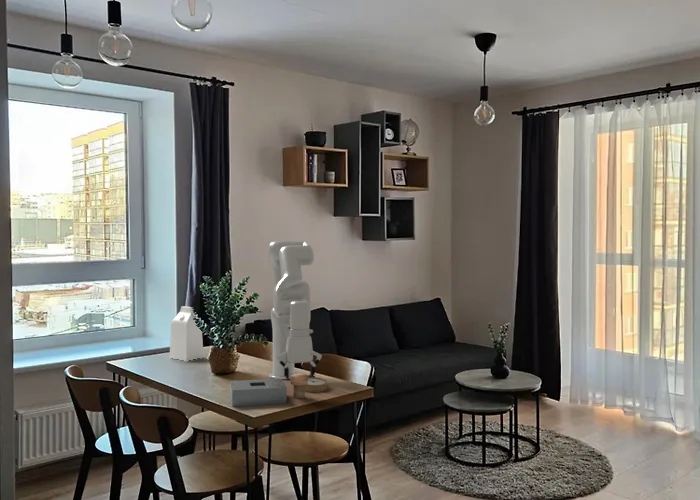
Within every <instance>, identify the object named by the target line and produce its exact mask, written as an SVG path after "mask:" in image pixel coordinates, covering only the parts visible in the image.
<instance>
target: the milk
mask: <svg viewBox="0 0 700 500" xmlns="http://www.w3.org/2000/svg"><path fill="white" fill-rule="evenodd" d="M194 314H195V313H194V310H193V307H191V306H186V305H185V306H180V309H179V312H178V313H177V315H176V316H175V317H174V318H173V319H172V320H171V324H170V339H169V340H170V343H169V357H168V359H169V358H173V359H179V360H178V361H180V360H184V361H183V362H186V361H187V362H190V361H189V360H191V361H194V360H193V359H196V360H198V359H197V358H200V359H203V358H204V344H203V343H204V342H203V330H202V331H201V330H200V329H199V328H198V327H197V326H196V323H195V320H193V315H194ZM195 316H196V319H200V318H199V317H198V316H197V315H196V314H195ZM202 357H203V358H202ZM173 359H172V360H173Z"/></svg>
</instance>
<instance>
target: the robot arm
mask: <svg viewBox="0 0 700 500" xmlns="http://www.w3.org/2000/svg"><path fill="white" fill-rule="evenodd" d="M267 250H268V252H267V254H268V259H269V262H270V265H271V268H272V271H273V293H272V302H273V307H272V308H271V310H270V322H271V328H272V371H271V372H270V373H269V374H268V376H269V379H282V380H291V375H293V374H299V373H298V372H296V371H295V364H302V363H303V364H304V363H309V364H310V367H309V368H310V370H309V375H310V376H311V377H313V375H314V376H316V372H315V371H316V367H317V365H318V364H319V363H320V361H321V359H322V357H323V355H322V354H321V353H319V352H317V351H314V350H313V342H312V336H311V335H310V334H313V333H314V330H313V329H310V322H311V314H312V313H311V291H310V290H311V289H310V285H309V282H307V281H306V280H303V272H302V271H303V270H302V266H311V265H313V262H314V255H315V254H314V250H313V247H312V246H311V245H310V244H309V243H308V242H307V241H304V240H275V241H272V242H270V243H269V245H268V249H267ZM314 356H315V357H316V359H315V360H314Z"/></svg>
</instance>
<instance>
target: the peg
mask: <svg viewBox="0 0 700 500" xmlns="http://www.w3.org/2000/svg"><path fill="white" fill-rule="evenodd" d="M308 375H309V374H305V373H298V374H293V375H291V379H290V384H291V385H292V386H293V399H296V400H302V399H305V398H306V392H305V385H306V384H308Z"/></svg>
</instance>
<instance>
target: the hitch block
mask: <svg viewBox="0 0 700 500" xmlns="http://www.w3.org/2000/svg"><path fill="white" fill-rule="evenodd" d="M287 391H288V390H287V386H286V383H284V380H283V379H273V378H264V379H263V378H262V379H261V378H260V379H246V380H244V379H243V380H230V381H229V398H230V402H231V406H232V407H233V408H234V407H246V406H247V407H248V406H262V405H265V406H266V405H279V404H282V405H284V404H287Z"/></svg>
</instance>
